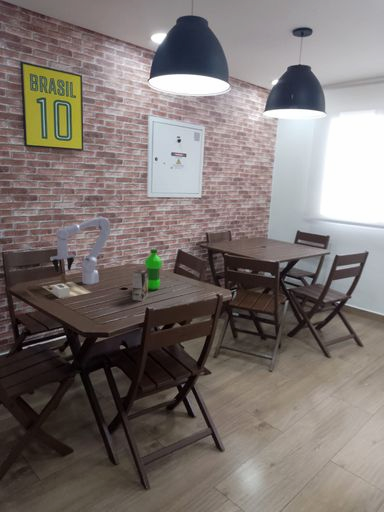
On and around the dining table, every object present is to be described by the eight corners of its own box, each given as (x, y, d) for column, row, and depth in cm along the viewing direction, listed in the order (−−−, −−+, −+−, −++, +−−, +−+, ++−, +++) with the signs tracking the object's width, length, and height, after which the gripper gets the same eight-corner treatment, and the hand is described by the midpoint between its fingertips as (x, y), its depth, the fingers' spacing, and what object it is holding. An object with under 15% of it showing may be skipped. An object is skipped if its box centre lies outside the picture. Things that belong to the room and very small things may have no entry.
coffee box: (142, 301, 206) (143, 273, 203) (132, 299, 208) (132, 272, 204) (148, 296, 215) (148, 269, 212) (137, 295, 216) (138, 268, 213)
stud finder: (63, 291, 211) (62, 282, 210) (69, 295, 205) (69, 286, 203) (52, 293, 207) (52, 284, 206) (59, 297, 201) (59, 288, 199)
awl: (64, 284, 226) (64, 274, 225) (67, 285, 224) (66, 275, 222) (59, 284, 224) (59, 274, 222) (62, 286, 222) (61, 275, 220)
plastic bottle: (147, 285, 236) (148, 247, 231) (162, 287, 234) (164, 248, 229) (142, 289, 227) (143, 250, 221) (158, 291, 225) (159, 251, 219)
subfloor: (72, 283, 232) (72, 281, 232) (91, 294, 213) (91, 292, 213) (42, 288, 219) (42, 286, 219) (60, 300, 201) (60, 298, 200)
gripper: (53, 251, 211) (53, 273, 214) (77, 248, 221) (77, 270, 224) (48, 249, 216) (49, 271, 219) (71, 246, 226) (72, 268, 229)
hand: (63, 270), depth 222 cm, fingers open, 7 cm apart
